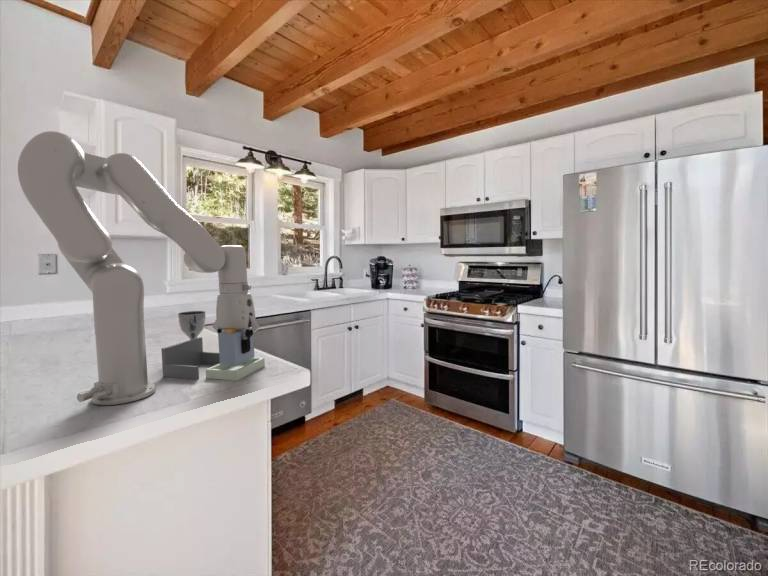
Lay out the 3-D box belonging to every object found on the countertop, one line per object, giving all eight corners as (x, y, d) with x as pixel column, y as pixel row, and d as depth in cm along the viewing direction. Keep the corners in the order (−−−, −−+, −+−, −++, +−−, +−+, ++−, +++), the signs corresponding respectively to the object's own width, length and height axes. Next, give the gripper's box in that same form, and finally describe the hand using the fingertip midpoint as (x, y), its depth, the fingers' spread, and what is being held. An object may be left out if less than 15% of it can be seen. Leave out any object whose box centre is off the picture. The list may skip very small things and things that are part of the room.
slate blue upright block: (254, 357, 109) (252, 324, 109) (235, 366, 101) (233, 331, 100) (239, 356, 111) (237, 324, 110) (219, 365, 102) (217, 330, 101)
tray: (236, 380, 98) (236, 371, 98) (206, 378, 100) (205, 369, 100) (264, 366, 111) (264, 357, 111) (236, 364, 113) (236, 356, 113)
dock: (196, 379, 99) (195, 350, 98) (163, 376, 102) (161, 348, 101) (231, 364, 113) (230, 338, 113) (200, 362, 116) (199, 337, 115)
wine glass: (212, 354, 125) (210, 311, 124) (198, 360, 118) (195, 314, 116) (190, 353, 126) (188, 310, 125) (175, 360, 118) (172, 314, 117)
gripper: (267, 287, 105) (270, 349, 107) (216, 287, 109) (220, 347, 111) (252, 290, 98) (256, 356, 100) (198, 290, 102) (202, 354, 104)
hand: (237, 351), depth 105 cm, fingers closed on slate blue upright block, 5 cm apart
